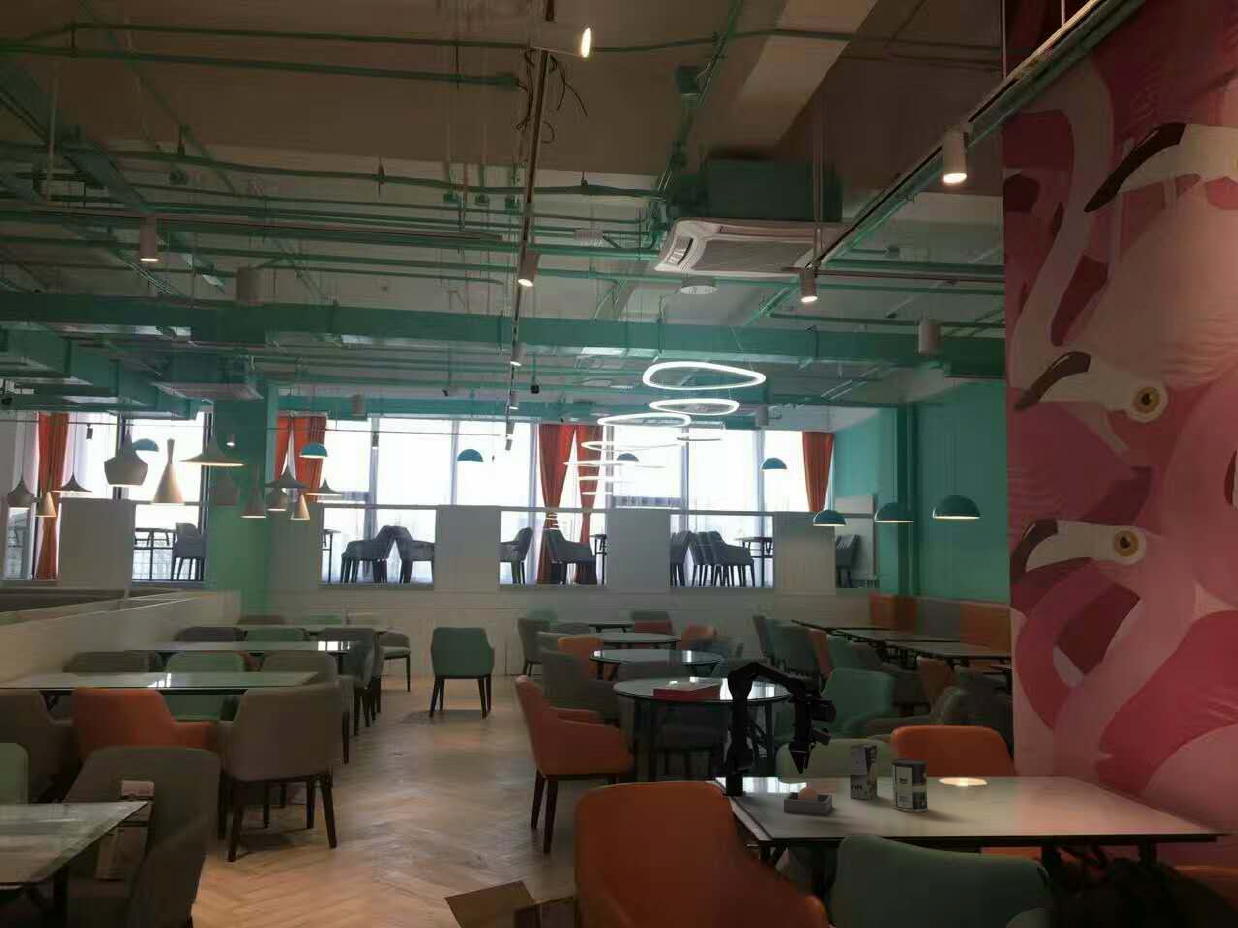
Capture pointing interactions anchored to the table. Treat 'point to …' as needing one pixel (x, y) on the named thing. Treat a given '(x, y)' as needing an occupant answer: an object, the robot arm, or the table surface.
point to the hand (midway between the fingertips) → (803, 771)
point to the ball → (808, 794)
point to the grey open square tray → (808, 804)
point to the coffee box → (863, 771)
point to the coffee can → (909, 785)
